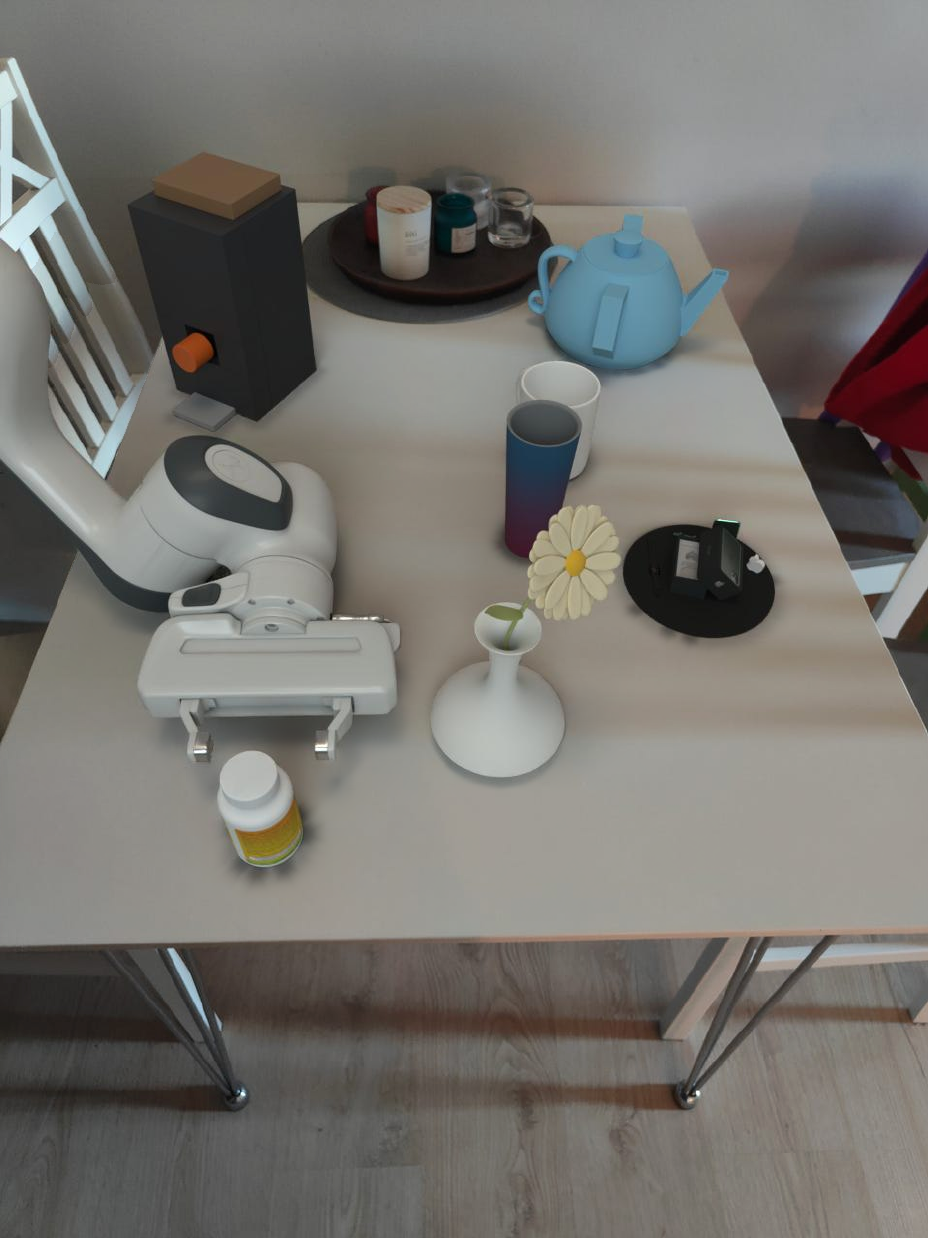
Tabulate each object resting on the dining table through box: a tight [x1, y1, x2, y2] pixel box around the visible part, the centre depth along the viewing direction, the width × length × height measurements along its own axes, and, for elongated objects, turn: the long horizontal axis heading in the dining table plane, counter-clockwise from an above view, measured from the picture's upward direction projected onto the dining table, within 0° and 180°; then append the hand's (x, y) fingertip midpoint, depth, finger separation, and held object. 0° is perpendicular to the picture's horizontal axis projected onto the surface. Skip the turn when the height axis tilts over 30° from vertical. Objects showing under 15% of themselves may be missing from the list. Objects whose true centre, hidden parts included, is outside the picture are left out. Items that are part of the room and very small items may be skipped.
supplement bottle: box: [216, 750, 304, 868], centre depth 63 cm, size 5×5×10 cm
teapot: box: [527, 213, 730, 370], centre depth 108 cm, size 19×19×14 cm
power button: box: [172, 333, 213, 372], centre depth 93 cm, size 3×3×3 cm
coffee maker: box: [126, 151, 317, 432], centre depth 94 cm, size 16×12×24 cm
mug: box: [515, 360, 602, 481], centre depth 93 cm, size 12×8×10 cm
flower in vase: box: [429, 503, 622, 778], centre depth 64 cm, size 13×11×25 cm
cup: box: [504, 400, 582, 559], centre depth 82 cm, size 7×7×15 cm
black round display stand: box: [622, 518, 776, 639], centre depth 83 cm, size 15×15×6 cm
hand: (262, 757), depth 64 cm, fingers open, 8 cm apart
